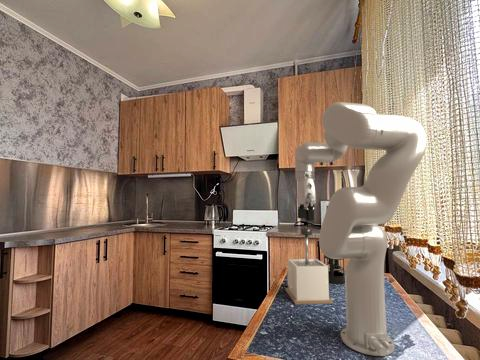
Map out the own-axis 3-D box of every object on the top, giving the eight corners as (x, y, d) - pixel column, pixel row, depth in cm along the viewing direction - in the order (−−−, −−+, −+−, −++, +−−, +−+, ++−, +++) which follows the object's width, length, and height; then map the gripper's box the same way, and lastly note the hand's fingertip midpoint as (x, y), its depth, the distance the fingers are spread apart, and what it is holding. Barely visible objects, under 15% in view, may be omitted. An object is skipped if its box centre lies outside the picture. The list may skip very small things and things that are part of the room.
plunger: (324, 269, 95) (323, 229, 96) (298, 269, 94) (297, 229, 95) (314, 262, 104) (313, 226, 106) (291, 263, 104) (290, 227, 105)
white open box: (332, 303, 92) (331, 266, 93) (294, 304, 91) (293, 267, 92) (318, 289, 106) (317, 258, 107) (284, 290, 105) (284, 258, 106)
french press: (342, 286, 110) (341, 232, 112) (321, 282, 115) (319, 231, 117) (347, 279, 120) (346, 230, 122) (327, 275, 125) (326, 229, 127)
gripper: (322, 175, 94) (323, 221, 93) (306, 178, 111) (307, 217, 110) (302, 175, 93) (303, 221, 92) (290, 178, 110) (290, 217, 109)
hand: (305, 219), depth 101 cm, fingers open, 9 cm apart
